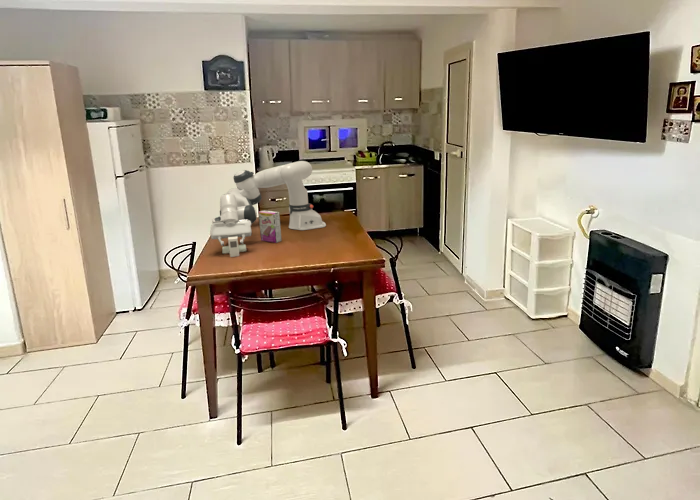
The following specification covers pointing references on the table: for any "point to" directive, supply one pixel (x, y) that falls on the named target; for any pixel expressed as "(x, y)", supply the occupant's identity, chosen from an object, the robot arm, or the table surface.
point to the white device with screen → (233, 246)
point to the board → (226, 250)
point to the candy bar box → (270, 226)
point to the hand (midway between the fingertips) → (232, 244)
